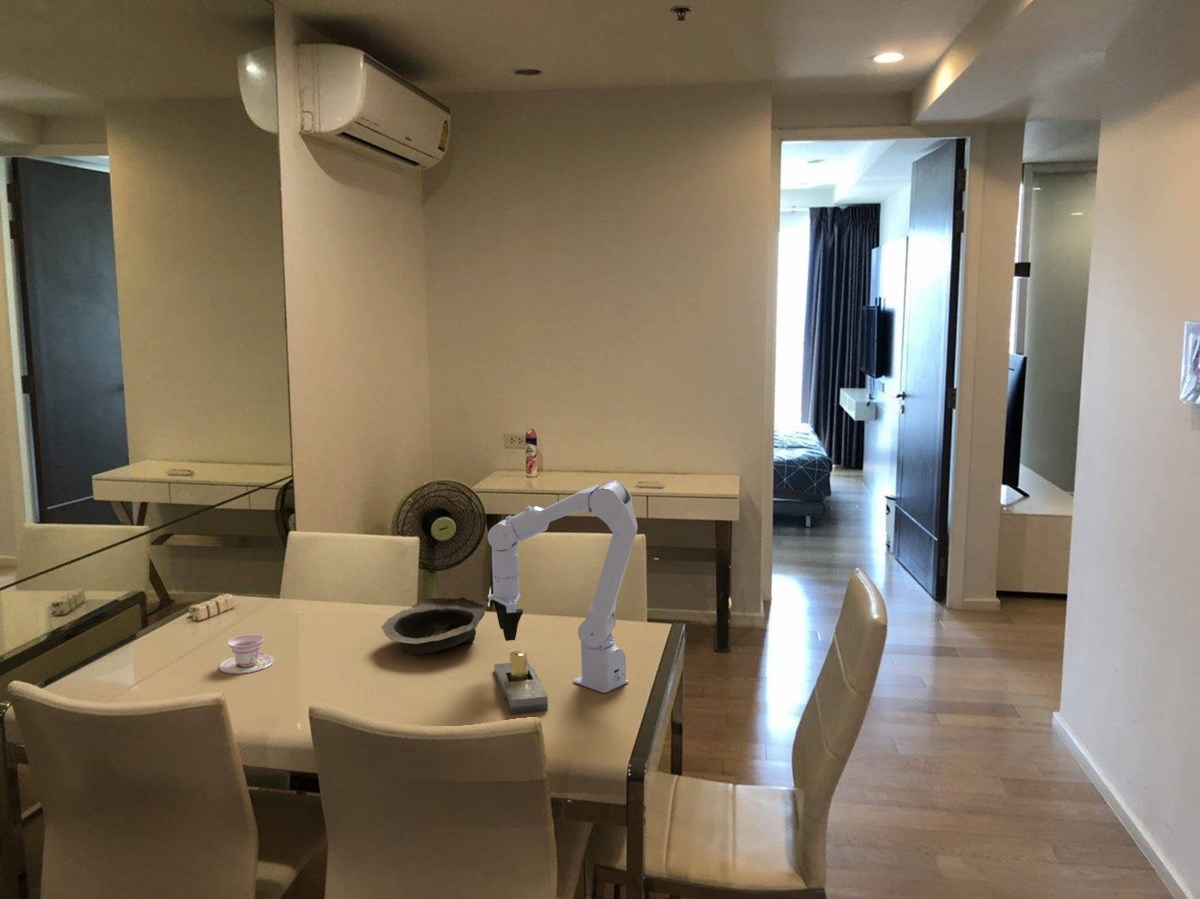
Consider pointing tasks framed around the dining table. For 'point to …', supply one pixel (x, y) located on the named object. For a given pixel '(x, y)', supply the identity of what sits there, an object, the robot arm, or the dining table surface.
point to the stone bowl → (434, 624)
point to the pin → (518, 666)
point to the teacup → (246, 655)
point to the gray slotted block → (521, 690)
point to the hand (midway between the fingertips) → (507, 634)
